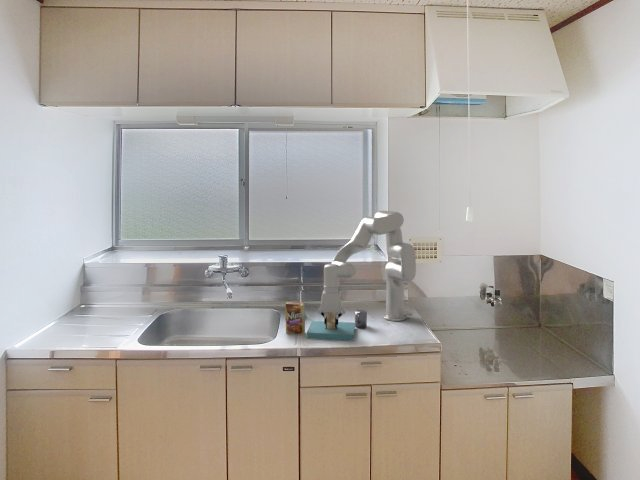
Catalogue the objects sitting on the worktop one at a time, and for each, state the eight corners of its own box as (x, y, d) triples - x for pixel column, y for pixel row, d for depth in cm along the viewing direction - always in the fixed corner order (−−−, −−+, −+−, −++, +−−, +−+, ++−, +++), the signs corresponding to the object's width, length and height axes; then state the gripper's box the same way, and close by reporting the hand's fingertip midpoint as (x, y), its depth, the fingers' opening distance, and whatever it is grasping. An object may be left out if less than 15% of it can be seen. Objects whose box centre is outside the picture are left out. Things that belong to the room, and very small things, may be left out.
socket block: (354, 328, 194) (354, 322, 193) (353, 340, 178) (353, 334, 177) (312, 326, 196) (311, 320, 196) (306, 338, 181) (306, 332, 180)
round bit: (366, 324, 199) (366, 309, 198) (366, 329, 193) (366, 313, 192) (355, 324, 199) (355, 309, 198) (354, 328, 194) (354, 313, 192)
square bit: (335, 327, 188) (335, 310, 187) (334, 330, 184) (335, 312, 183) (327, 327, 189) (327, 309, 188) (326, 330, 185) (326, 312, 184)
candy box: (285, 333, 187) (284, 303, 185) (288, 330, 191) (288, 301, 189) (302, 335, 184) (302, 305, 182) (305, 332, 189) (305, 302, 186)
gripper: (349, 288, 187) (348, 323, 189) (315, 286, 189) (315, 322, 191) (348, 292, 179) (347, 329, 182) (313, 290, 181) (313, 327, 184)
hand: (331, 325), depth 187 cm, fingers closed on square bit, 4 cm apart
